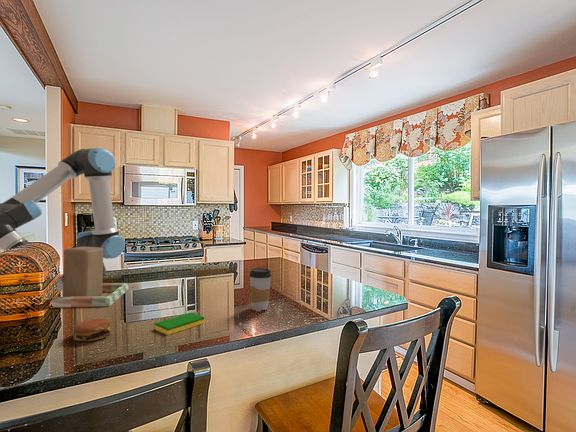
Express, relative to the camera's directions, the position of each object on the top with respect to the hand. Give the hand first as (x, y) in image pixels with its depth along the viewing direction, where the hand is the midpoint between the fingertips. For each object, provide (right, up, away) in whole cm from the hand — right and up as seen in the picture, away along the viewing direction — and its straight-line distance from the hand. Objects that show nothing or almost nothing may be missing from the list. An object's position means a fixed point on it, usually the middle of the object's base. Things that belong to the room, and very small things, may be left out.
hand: (63, 288), depth 127 cm
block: (+7, -4, +2) cm, 8 cm away
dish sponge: (+54, -7, -24) cm, 60 cm away
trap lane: (+10, -4, +3) cm, 11 cm away
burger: (+32, -6, -34) cm, 47 cm away
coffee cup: (+78, -7, -4) cm, 78 cm away
